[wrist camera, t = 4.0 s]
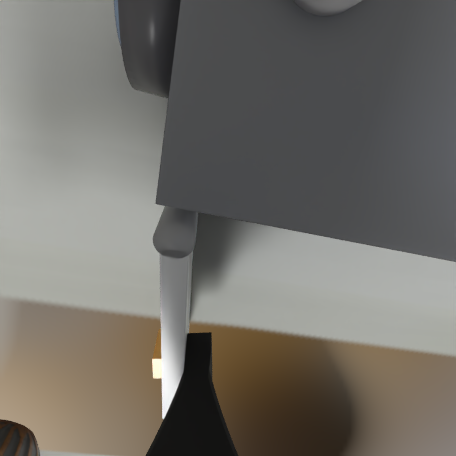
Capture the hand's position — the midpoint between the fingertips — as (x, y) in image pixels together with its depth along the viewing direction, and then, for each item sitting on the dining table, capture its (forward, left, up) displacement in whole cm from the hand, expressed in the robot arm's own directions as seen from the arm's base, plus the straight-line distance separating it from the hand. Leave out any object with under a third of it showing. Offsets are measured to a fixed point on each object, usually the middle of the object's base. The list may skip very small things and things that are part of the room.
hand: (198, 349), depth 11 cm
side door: (+1, -2, -2) cm, 3 cm away
